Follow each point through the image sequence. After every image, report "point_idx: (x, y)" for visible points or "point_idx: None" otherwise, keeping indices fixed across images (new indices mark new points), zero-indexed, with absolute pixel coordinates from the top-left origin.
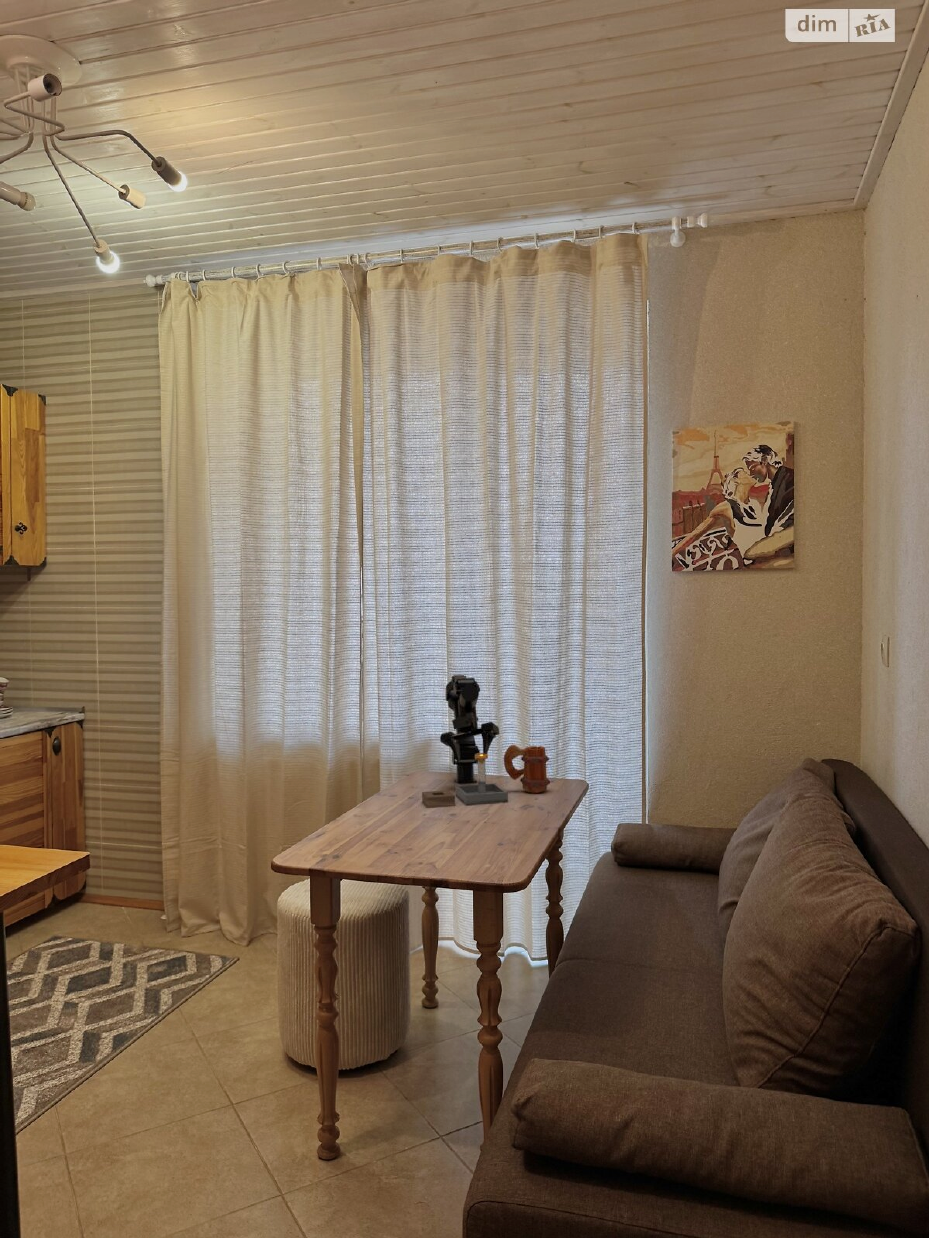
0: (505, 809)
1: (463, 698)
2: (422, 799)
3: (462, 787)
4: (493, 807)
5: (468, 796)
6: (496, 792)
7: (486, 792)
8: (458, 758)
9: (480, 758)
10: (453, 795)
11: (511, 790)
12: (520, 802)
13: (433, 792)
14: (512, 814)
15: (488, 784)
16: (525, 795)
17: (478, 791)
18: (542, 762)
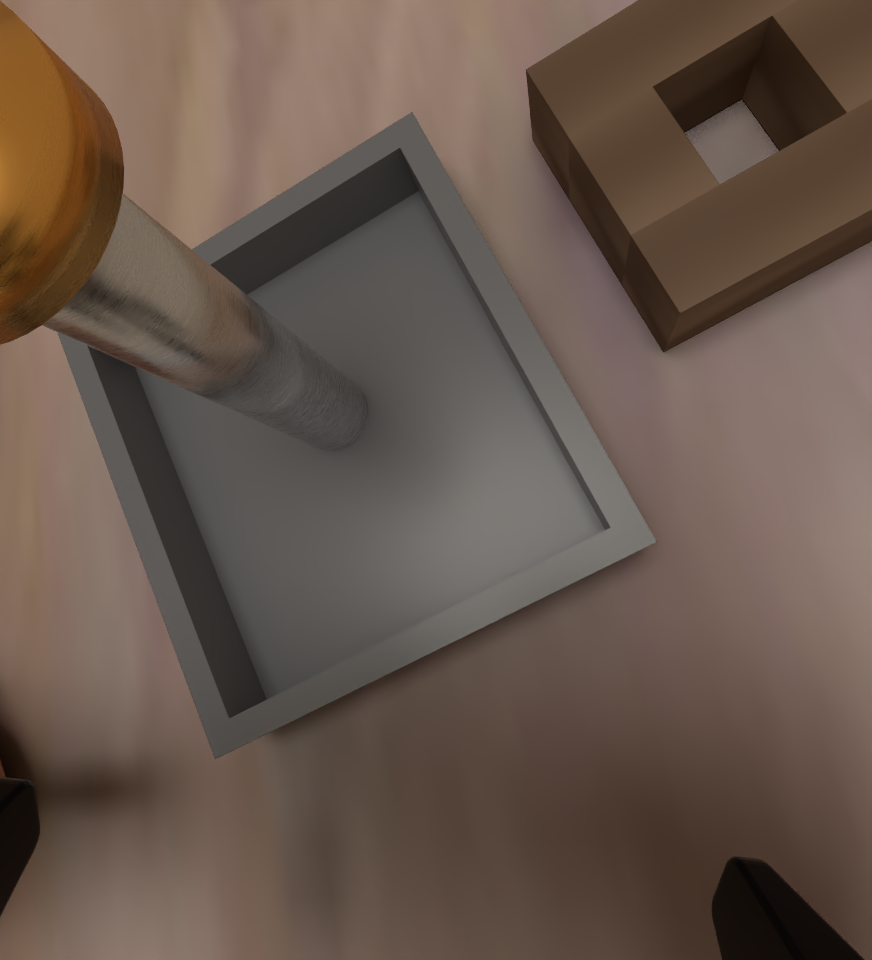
0: (119, 132)
1: None
2: None
3: (566, 550)
4: (209, 167)
5: (395, 135)
6: (227, 604)
7: (325, 612)
8: (770, 956)
9: None
10: (543, 74)
11: (137, 842)
12: (35, 370)
13: (834, 147)
14: (64, 16)
15: (282, 692)
16: (12, 630)
17: (342, 375)
18: None
